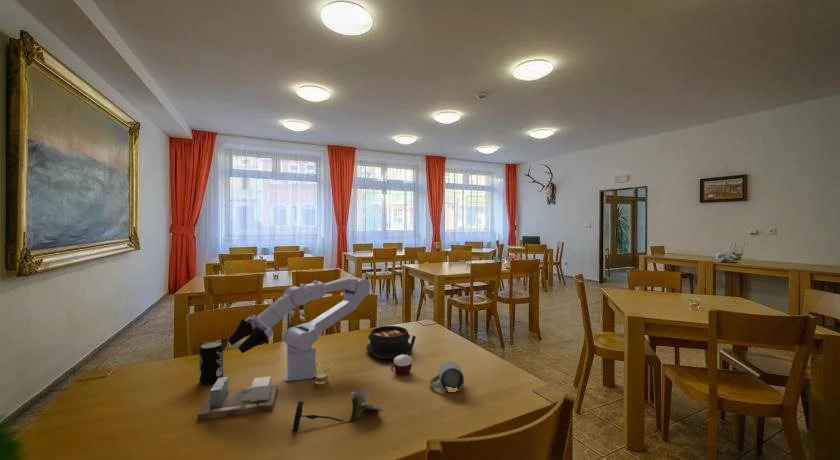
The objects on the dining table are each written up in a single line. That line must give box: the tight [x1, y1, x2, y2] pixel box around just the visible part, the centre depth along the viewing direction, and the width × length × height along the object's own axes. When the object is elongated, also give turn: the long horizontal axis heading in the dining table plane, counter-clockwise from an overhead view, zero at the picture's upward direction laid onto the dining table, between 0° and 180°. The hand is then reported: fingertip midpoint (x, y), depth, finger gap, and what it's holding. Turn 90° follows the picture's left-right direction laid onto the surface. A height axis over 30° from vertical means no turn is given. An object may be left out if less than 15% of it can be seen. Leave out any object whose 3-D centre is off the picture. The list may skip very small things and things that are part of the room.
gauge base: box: [197, 384, 279, 421], centre depth 96 cm, size 18×12×2 cm, turn 106°
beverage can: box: [198, 341, 224, 386], centre depth 110 cm, size 7×7×12 cm
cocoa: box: [390, 335, 417, 376], centre depth 118 cm, size 10×6×12 cm, turn 103°
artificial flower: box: [292, 387, 383, 432], centre depth 89 cm, size 9×22×10 cm, turn 104°
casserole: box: [365, 325, 411, 360], centre depth 138 cm, size 25×19×8 cm
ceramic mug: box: [428, 360, 465, 392], centre depth 108 cm, size 11×8×8 cm
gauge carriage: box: [242, 376, 272, 405], centre depth 96 cm, size 7×9×4 cm
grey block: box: [209, 376, 229, 409], centre depth 95 cm, size 2×8×5 cm, turn 16°
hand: (234, 346), depth 100 cm, fingers open, 7 cm apart
